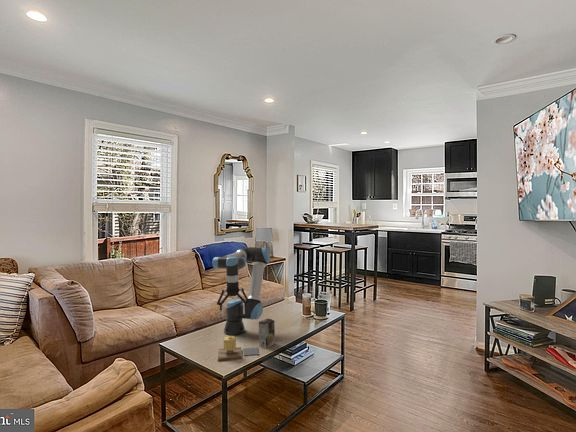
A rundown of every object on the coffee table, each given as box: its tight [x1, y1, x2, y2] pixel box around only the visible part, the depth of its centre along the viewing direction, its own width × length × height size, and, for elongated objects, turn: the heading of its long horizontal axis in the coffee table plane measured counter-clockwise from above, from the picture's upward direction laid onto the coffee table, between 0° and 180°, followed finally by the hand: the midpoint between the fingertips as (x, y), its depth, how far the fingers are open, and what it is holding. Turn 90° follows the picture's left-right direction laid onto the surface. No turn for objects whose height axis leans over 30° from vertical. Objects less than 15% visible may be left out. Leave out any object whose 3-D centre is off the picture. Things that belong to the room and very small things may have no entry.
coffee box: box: [258, 318, 276, 349], centre depth 223 cm, size 9×6×16 cm
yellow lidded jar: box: [223, 335, 237, 351], centre depth 208 cm, size 8×8×7 cm
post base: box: [217, 346, 243, 362], centre depth 208 cm, size 14×14×10 cm
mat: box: [243, 347, 260, 357], centre depth 212 cm, size 10×9×1 cm
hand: (233, 314), depth 216 cm, fingers open, 13 cm apart
